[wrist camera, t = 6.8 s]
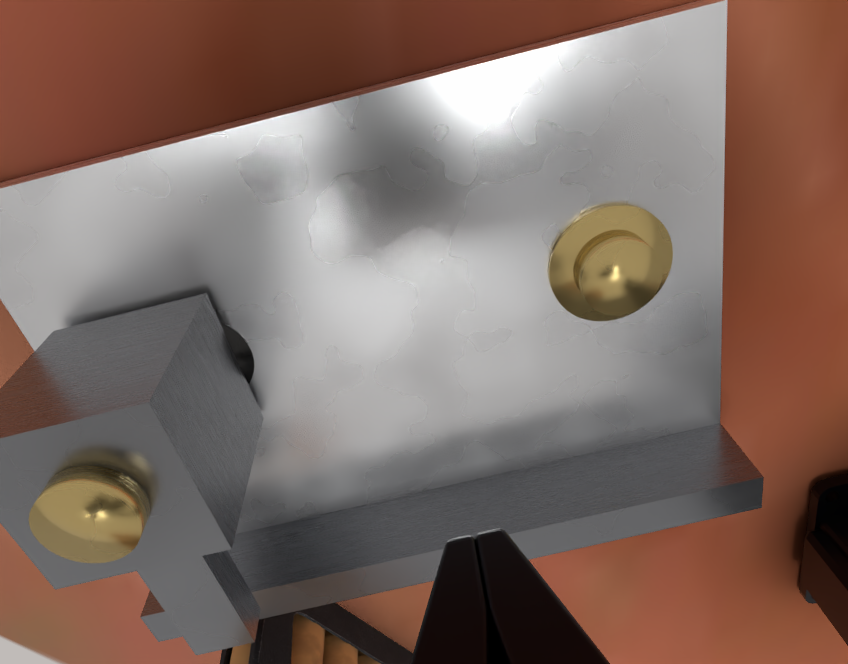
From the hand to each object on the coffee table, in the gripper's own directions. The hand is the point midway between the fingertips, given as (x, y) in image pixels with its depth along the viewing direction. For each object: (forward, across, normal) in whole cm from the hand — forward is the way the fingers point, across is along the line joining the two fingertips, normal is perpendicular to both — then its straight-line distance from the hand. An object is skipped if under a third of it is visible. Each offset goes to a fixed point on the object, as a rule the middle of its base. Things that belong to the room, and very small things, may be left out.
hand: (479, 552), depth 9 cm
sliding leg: (+8, +7, +2) cm, 11 cm away
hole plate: (+9, +1, +1) cm, 9 cm away
